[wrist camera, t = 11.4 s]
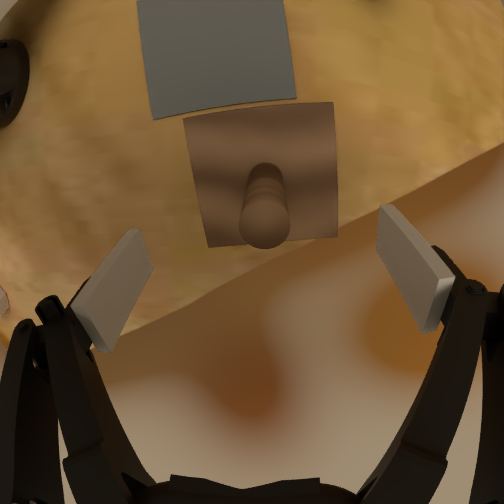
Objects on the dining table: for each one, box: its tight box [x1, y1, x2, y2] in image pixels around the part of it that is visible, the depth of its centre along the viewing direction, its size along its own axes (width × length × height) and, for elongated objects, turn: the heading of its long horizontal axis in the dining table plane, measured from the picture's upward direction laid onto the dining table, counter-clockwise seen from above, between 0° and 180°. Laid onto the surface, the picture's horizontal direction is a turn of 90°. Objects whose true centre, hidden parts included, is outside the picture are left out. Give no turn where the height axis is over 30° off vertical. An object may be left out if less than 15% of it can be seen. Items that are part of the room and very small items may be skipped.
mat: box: [137, 0, 296, 120], centre depth 24 cm, size 16×16×1 cm
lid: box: [183, 102, 338, 249], centre depth 22 cm, size 13×13×11 cm
